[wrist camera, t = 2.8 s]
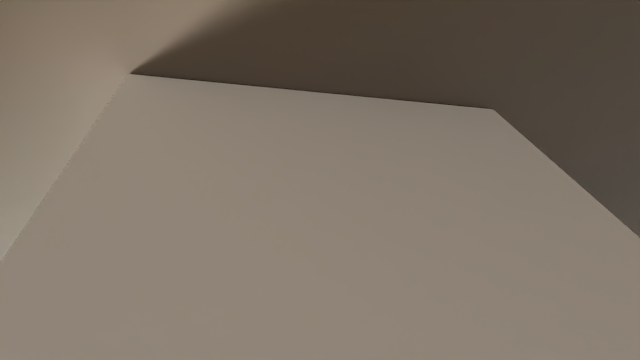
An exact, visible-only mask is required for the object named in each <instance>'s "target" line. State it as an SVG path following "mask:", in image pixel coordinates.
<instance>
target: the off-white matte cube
mask: <svg viewBox="0 0 640 360" xmlns="http://www.w3.org/2000/svg"><path fill="white" fill-rule="evenodd" d="M0 360H640V238H639V237H638V236H637V235H636V234H635V233H634V232H633V231H631V230H630V229H629V228H628V227H627V226H626V225H625V224H623V223H622V222H621V221H620V220H619V219H618V218H617V217H615V216H614V215H613V214H612V213H611V212H610V211H609V210H607V209H606V208H605V207H604V206H603V205H602V204H601V203H599V202H598V201H597V200H596V199H595V198H594V197H593V196H592V195H590V194H589V193H588V192H587V191H586V190H585V189H584V188H582V187H581V186H580V185H579V184H578V183H577V182H576V181H574V180H573V179H572V178H571V177H570V176H569V175H568V174H566V173H565V172H564V171H563V170H562V169H561V168H560V167H558V166H557V165H556V164H555V163H554V162H553V161H552V160H550V159H549V158H548V157H547V156H546V155H545V154H544V153H542V152H541V151H540V150H539V149H538V148H537V147H536V146H534V145H533V144H532V143H531V142H530V141H529V140H528V139H526V138H525V137H524V136H523V135H522V134H521V133H520V132H518V131H517V130H516V129H515V128H514V127H513V126H512V125H510V124H509V123H508V122H507V121H506V120H505V119H504V118H502V117H501V116H500V115H499V114H498V113H497V112H496V111H494V110H493V109H484V108H474V107H464V106H453V105H443V104H433V103H422V102H412V101H402V100H391V99H381V98H371V97H360V96H350V95H340V94H330V93H319V92H309V91H299V90H288V89H278V88H268V87H257V86H247V85H237V84H226V83H216V82H206V81H195V80H185V79H175V78H164V77H154V76H144V75H133V74H127V76H126V77H125V79H124V80H123V82H122V83H121V85H120V86H119V88H118V89H117V91H116V92H115V94H114V95H113V97H112V98H111V100H110V101H109V102H108V104H107V105H106V107H105V108H104V110H103V111H102V113H101V114H100V116H99V117H98V119H97V120H96V122H95V123H94V125H93V126H92V128H91V129H90V131H89V132H88V134H87V135H86V137H85V138H84V140H83V141H82V143H81V144H80V146H79V147H78V149H77V150H76V151H75V153H74V154H73V156H72V157H71V159H70V160H69V162H68V163H67V165H66V166H65V168H64V169H63V171H62V172H61V174H60V175H59V177H58V178H57V180H56V181H55V183H54V184H53V186H52V187H51V189H50V190H49V192H48V193H47V195H46V196H45V197H44V199H43V200H42V202H41V203H40V205H39V206H38V208H37V209H36V211H35V212H34V214H33V215H32V217H31V218H30V220H29V221H28V223H27V224H26V226H25V227H24V229H23V230H22V232H21V233H20V235H19V236H18V238H17V239H16V241H15V242H14V243H13V245H12V246H11V248H10V249H9V251H8V252H7V254H6V255H5V257H4V258H3V260H2V261H1V263H0Z"/></svg>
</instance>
